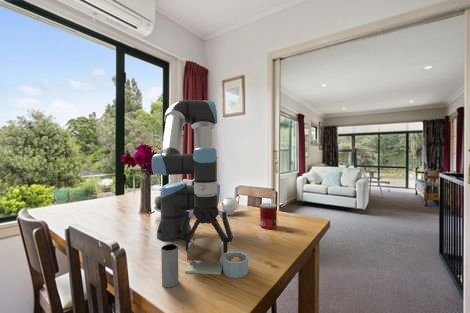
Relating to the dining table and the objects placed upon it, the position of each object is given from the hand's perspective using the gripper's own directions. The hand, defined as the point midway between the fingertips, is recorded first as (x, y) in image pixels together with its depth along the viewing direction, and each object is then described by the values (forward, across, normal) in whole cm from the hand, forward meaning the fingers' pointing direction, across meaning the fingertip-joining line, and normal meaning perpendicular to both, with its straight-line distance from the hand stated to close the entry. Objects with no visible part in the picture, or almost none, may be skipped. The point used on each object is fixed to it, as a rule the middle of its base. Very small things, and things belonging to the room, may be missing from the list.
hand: (206, 261), depth 72 cm
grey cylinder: (+1, -8, -11) cm, 14 cm away
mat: (+1, 0, 0) cm, 1 cm away
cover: (-3, 0, 0) cm, 3 cm away
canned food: (+1, +22, +38) cm, 44 cm away
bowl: (+1, +10, -4) cm, 11 cm away
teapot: (+1, 0, +62) cm, 62 cm away
